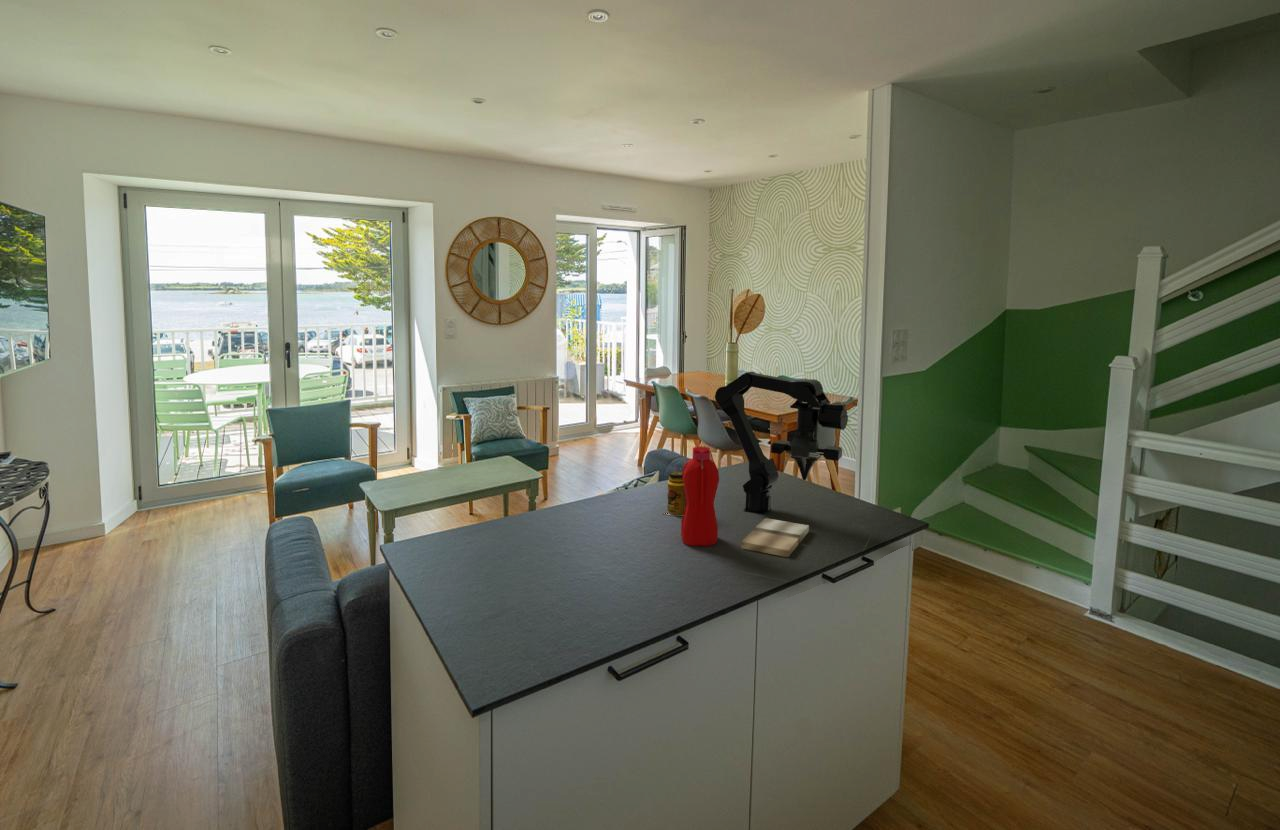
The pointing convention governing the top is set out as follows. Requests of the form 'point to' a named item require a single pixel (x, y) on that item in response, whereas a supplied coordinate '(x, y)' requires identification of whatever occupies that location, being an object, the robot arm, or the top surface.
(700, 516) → the water bottle
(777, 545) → the floor board
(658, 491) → the top surface
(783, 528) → the plank
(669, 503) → the condiment
